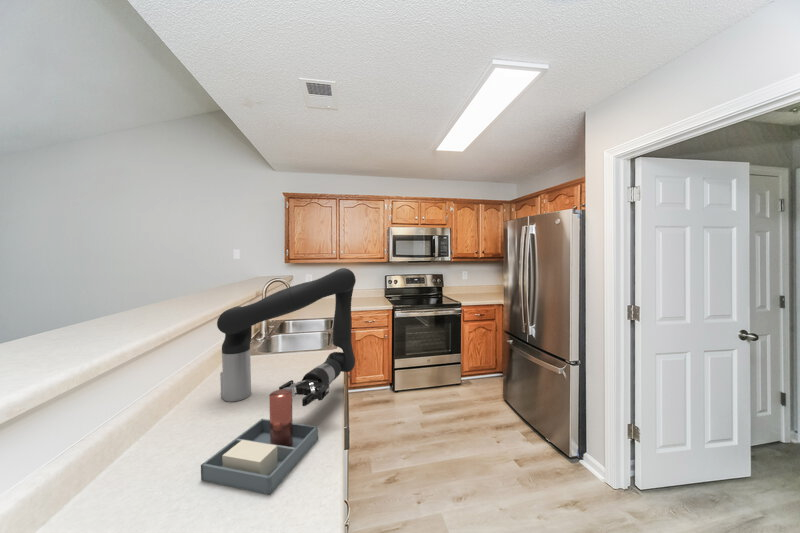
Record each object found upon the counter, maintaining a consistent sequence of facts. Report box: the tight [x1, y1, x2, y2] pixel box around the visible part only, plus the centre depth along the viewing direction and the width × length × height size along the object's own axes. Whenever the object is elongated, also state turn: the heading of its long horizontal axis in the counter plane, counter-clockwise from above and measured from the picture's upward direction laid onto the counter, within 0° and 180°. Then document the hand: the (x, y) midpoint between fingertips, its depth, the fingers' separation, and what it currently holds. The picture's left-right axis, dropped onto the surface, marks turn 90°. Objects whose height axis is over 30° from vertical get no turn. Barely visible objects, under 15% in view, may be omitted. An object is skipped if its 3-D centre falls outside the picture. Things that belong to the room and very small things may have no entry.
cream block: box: [222, 440, 278, 476], centre depth 70 cm, size 10×6×5 cm, turn 76°
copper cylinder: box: [269, 389, 294, 447], centre depth 80 cm, size 6×6×14 cm
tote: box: [200, 418, 319, 496], centre depth 75 cm, size 18×20×4 cm
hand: (289, 401), depth 84 cm, fingers open, 8 cm apart
